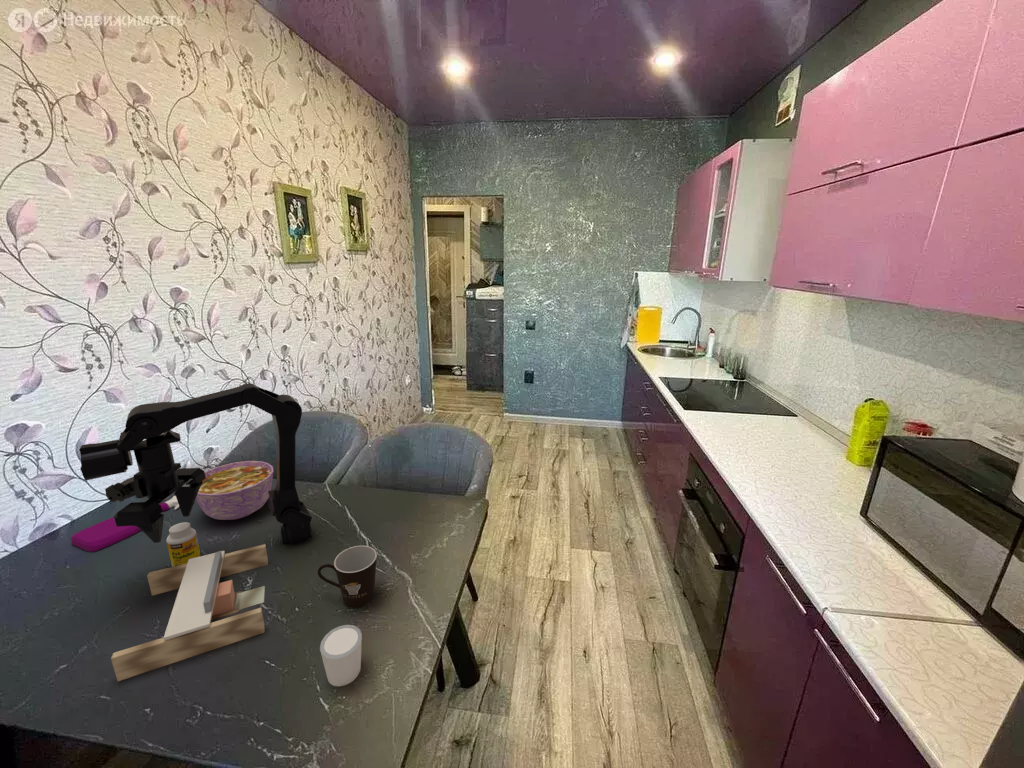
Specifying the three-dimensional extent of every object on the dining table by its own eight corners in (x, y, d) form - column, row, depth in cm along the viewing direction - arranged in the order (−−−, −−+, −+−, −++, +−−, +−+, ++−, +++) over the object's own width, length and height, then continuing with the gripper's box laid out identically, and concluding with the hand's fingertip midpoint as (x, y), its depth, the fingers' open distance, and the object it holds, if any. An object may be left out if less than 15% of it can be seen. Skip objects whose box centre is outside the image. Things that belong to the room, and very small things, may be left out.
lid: (224, 552, 93) (222, 542, 92) (209, 626, 74) (207, 614, 73) (189, 561, 90) (187, 550, 89) (164, 640, 71) (160, 627, 70)
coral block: (235, 595, 87) (232, 579, 86) (233, 609, 84) (229, 593, 83) (211, 602, 85) (207, 586, 84) (208, 617, 82) (204, 600, 81)
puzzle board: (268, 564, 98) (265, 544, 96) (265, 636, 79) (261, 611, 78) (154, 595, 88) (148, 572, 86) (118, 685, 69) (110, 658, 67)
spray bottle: (68, 545, 103) (174, 498, 126) (94, 556, 100) (199, 506, 122) (66, 534, 102) (173, 490, 125) (92, 545, 99) (197, 497, 121)
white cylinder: (331, 654, 76) (327, 625, 74) (368, 653, 76) (366, 623, 75) (317, 691, 69) (313, 659, 67) (358, 689, 70) (355, 657, 68)
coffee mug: (387, 588, 92) (385, 551, 89) (362, 617, 84) (358, 577, 81) (345, 575, 96) (342, 538, 93) (317, 601, 88) (313, 562, 85)
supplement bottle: (171, 575, 94) (162, 537, 91) (173, 560, 98) (165, 524, 96) (200, 566, 97) (193, 529, 94) (202, 553, 101) (195, 517, 99)
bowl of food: (178, 526, 111) (169, 488, 108) (240, 489, 130) (234, 457, 127) (238, 538, 107) (232, 499, 104) (293, 499, 126) (289, 465, 123)
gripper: (148, 446, 92) (163, 506, 97) (72, 489, 75) (95, 560, 79) (200, 445, 94) (213, 504, 98) (138, 487, 76) (157, 556, 80)
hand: (172, 528), depth 89 cm, fingers open, 9 cm apart
